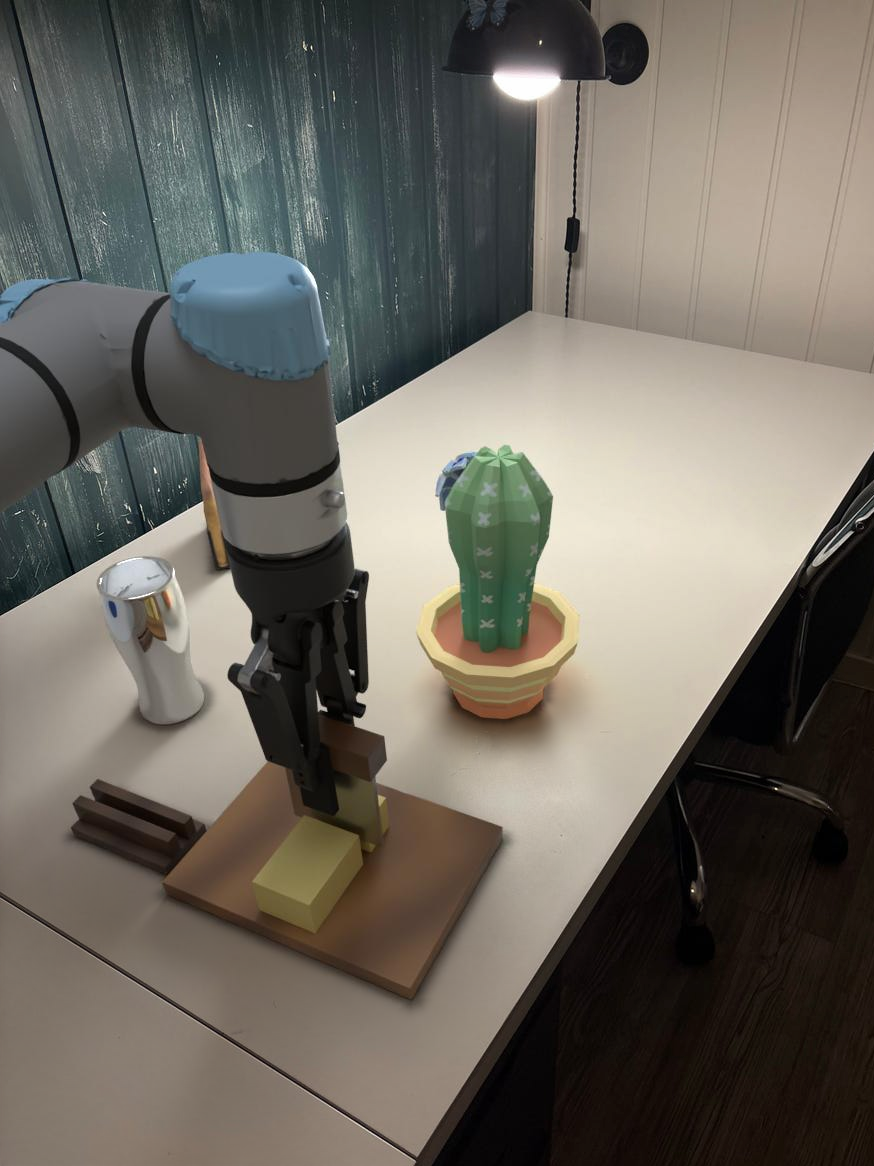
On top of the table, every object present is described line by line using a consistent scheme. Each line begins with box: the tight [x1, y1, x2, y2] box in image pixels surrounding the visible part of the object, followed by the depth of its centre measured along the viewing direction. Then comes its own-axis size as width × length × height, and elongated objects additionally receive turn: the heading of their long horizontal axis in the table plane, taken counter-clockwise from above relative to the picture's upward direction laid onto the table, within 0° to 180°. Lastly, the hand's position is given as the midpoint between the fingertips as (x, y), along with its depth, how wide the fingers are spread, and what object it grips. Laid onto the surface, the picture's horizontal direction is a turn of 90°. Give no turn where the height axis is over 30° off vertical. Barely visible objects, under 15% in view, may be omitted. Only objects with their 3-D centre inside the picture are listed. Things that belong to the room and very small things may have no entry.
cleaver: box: [285, 714, 388, 847], centre depth 71 cm, size 9×2×11 cm, turn 65°
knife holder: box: [70, 778, 207, 876], centre depth 79 cm, size 10×5×3 cm, turn 65°
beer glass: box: [96, 556, 205, 725], centre depth 87 cm, size 7×7×15 cm
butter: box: [252, 815, 363, 933], centre depth 72 cm, size 5×7×4 cm
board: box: [161, 761, 504, 1000], centre depth 76 cm, size 22×16×2 cm
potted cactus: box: [415, 444, 581, 720], centre depth 85 cm, size 15×15×25 cm
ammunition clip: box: [198, 437, 230, 571], centre depth 110 cm, size 11×2×12 cm, turn 14°
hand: (332, 792), depth 72 cm, fingers closed on cleaver, 2 cm apart
